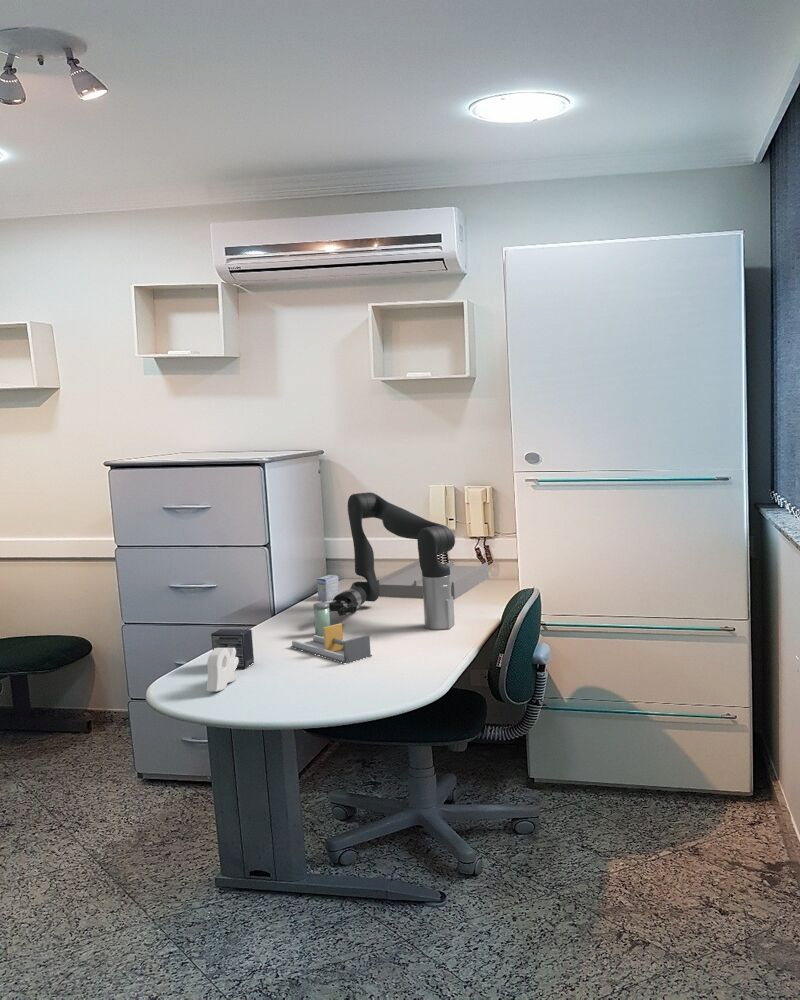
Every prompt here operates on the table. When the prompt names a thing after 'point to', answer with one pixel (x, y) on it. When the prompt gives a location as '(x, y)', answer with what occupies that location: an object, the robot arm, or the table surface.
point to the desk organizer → (411, 585)
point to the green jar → (321, 617)
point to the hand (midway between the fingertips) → (328, 612)
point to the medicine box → (328, 587)
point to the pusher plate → (333, 637)
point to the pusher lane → (350, 653)
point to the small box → (236, 644)
